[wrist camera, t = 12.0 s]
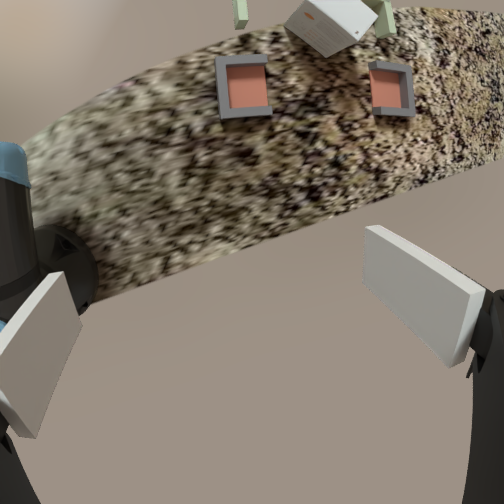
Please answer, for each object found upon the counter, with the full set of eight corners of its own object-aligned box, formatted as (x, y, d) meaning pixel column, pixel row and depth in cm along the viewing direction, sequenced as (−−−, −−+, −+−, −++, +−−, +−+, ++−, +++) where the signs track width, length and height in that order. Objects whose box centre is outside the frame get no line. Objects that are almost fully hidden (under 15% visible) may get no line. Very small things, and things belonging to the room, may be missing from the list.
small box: (344, 36, 38) (381, 17, 28) (325, 59, 39) (359, 42, 29) (303, 3, 35) (330, -26, 25) (281, 25, 36) (305, -2, 26)
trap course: (219, 119, 40) (222, 117, 36) (208, -9, 32) (210, -20, 29) (406, 116, 43) (421, 116, 40) (392, 7, 36) (405, 0, 32)
